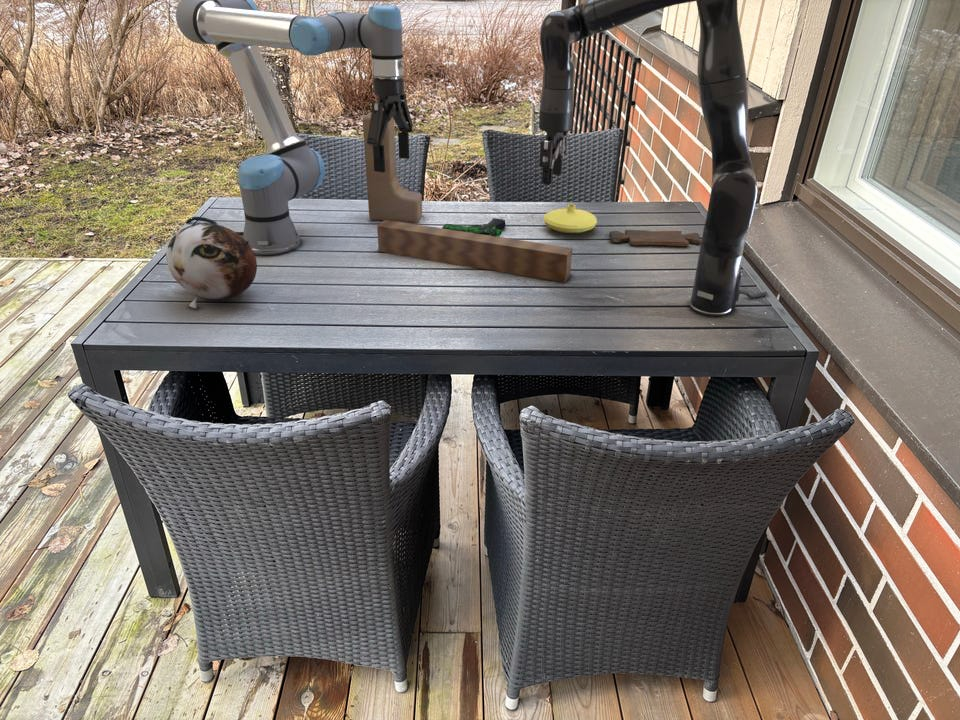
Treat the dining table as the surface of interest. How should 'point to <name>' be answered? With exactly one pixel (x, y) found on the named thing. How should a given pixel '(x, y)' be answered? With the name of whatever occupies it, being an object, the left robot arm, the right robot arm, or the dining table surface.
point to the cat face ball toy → (211, 261)
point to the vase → (570, 220)
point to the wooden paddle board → (654, 237)
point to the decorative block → (388, 183)
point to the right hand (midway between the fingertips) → (551, 179)
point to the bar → (475, 250)
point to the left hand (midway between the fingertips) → (392, 164)
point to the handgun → (481, 228)
